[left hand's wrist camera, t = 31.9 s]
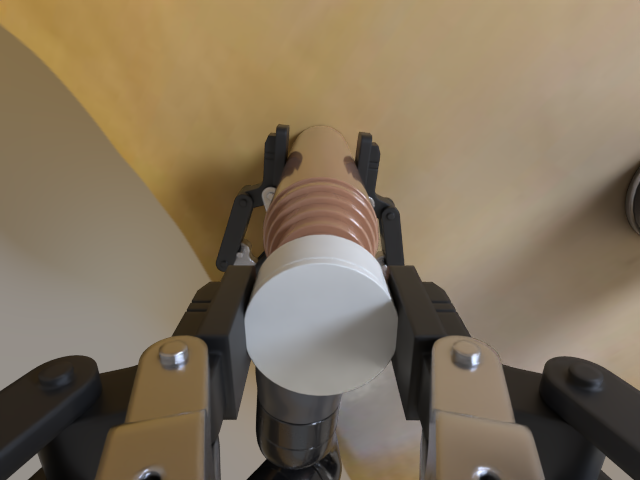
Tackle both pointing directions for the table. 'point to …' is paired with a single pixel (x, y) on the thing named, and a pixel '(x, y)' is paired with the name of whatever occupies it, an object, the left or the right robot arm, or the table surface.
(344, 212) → the bottle
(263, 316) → the cap
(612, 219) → the table surface
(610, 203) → the table surface
